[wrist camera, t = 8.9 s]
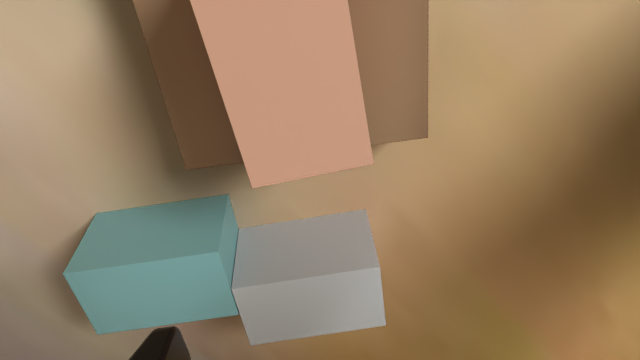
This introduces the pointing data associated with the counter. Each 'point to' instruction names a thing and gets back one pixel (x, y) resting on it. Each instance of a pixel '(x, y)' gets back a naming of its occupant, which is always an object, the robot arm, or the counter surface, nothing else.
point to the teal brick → (157, 265)
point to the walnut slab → (372, 56)
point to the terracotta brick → (288, 85)
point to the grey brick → (308, 278)
